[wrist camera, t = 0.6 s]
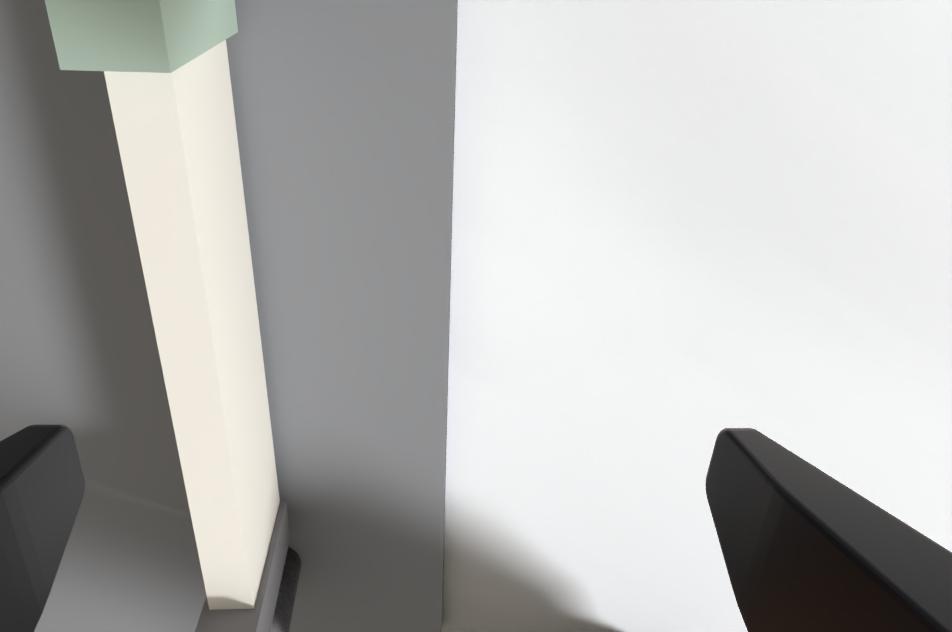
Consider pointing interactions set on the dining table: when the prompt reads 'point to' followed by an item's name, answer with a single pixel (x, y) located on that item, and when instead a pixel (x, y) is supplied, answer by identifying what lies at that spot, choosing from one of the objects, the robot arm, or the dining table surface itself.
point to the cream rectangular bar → (194, 276)
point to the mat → (278, 303)
